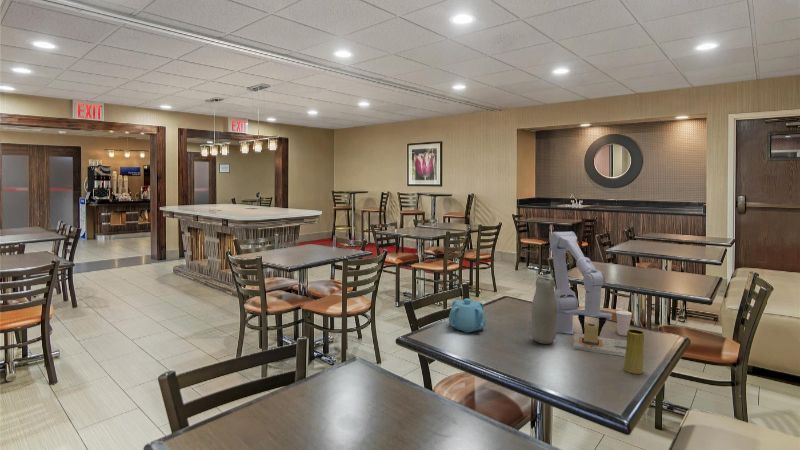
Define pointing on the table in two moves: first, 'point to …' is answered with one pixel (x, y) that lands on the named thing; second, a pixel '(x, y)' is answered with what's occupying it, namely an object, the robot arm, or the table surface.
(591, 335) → the brass nut
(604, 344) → the panel
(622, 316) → the smoothie
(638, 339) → the vase
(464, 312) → the decorative pot
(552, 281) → the glass bottle
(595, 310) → the robot arm
